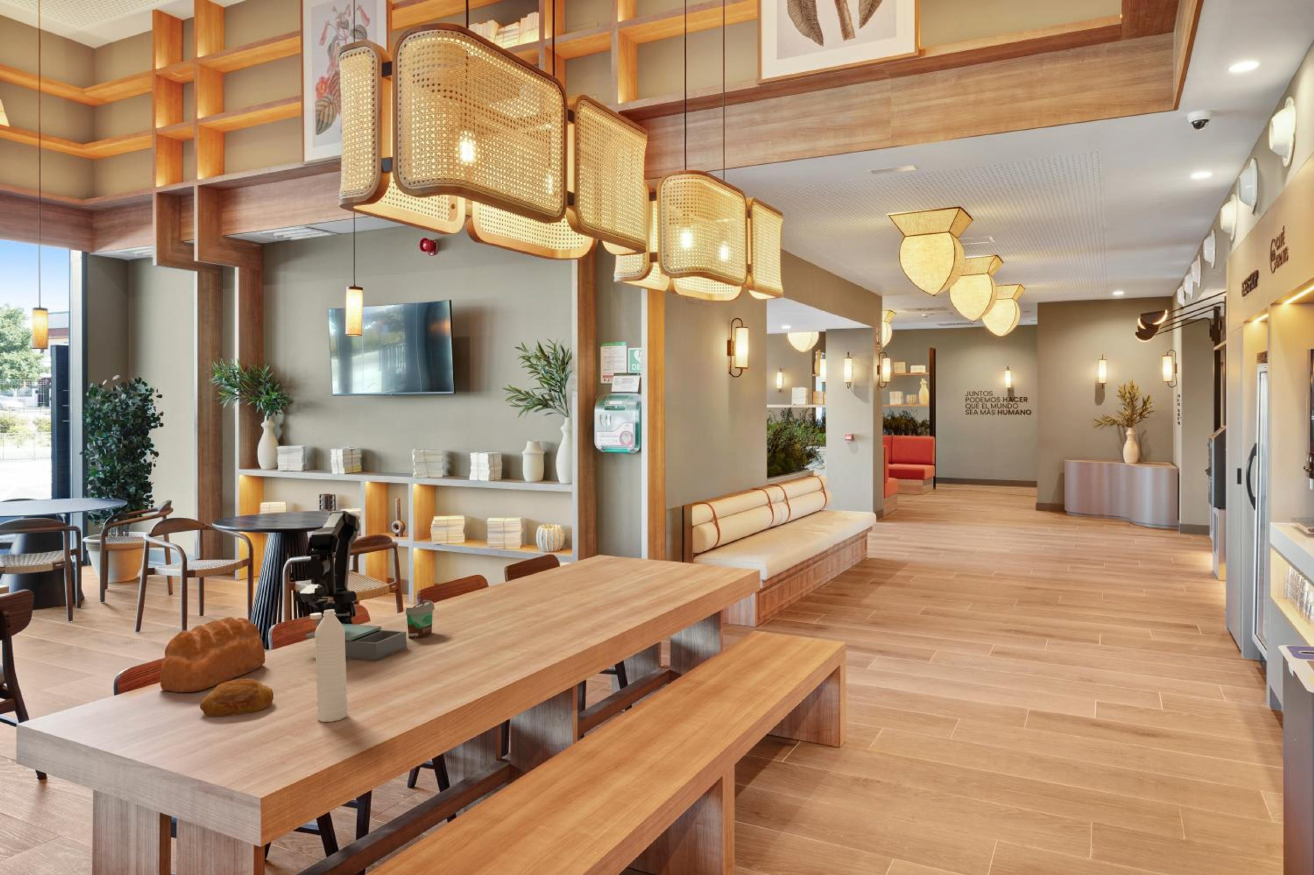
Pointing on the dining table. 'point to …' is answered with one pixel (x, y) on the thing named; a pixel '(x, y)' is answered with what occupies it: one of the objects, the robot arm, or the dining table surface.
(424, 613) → the food container
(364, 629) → the lid
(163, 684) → the bread
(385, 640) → the parts box
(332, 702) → the water bottle
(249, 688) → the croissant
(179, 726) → the dining table surface
